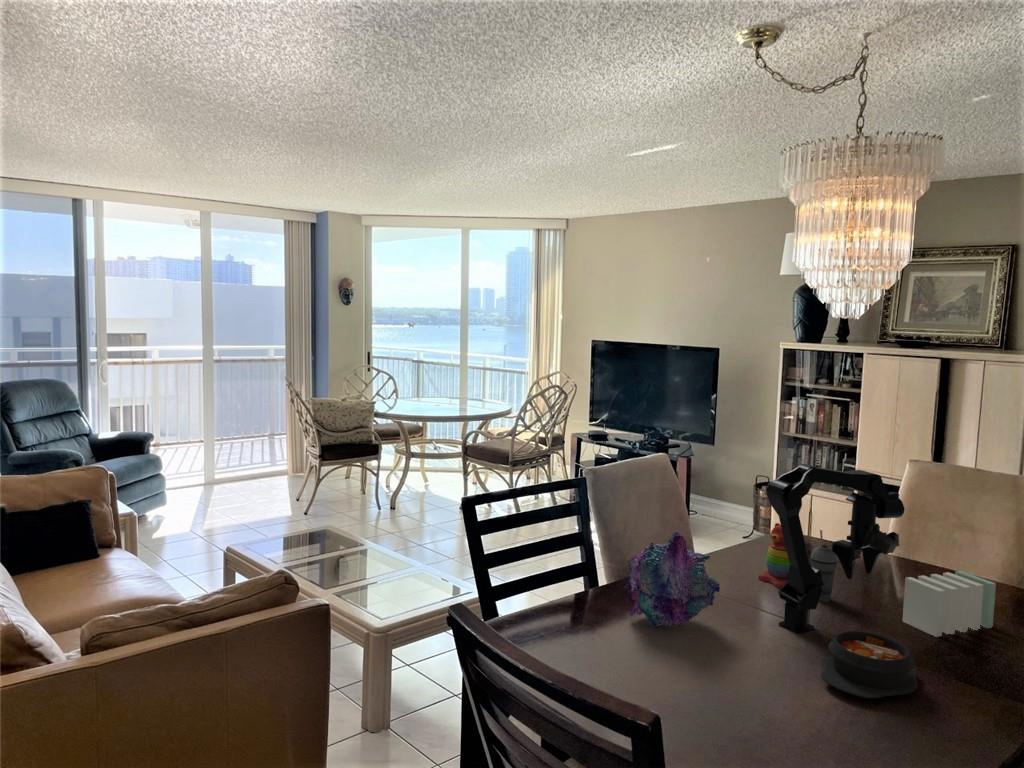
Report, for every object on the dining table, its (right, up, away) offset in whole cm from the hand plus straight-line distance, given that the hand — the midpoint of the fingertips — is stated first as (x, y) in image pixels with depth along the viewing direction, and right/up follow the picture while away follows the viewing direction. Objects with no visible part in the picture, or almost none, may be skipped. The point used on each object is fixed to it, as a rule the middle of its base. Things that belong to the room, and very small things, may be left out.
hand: (859, 576), depth 187 cm
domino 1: (+15, -13, -3) cm, 20 cm away
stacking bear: (-10, -10, +30) cm, 33 cm away
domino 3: (+23, -13, 0) cm, 27 cm away
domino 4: (+27, -13, +1) cm, 30 cm away
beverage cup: (-3, -11, +16) cm, 20 cm away
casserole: (-14, -15, -32) cm, 38 cm away
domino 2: (+19, -13, -2) cm, 23 cm away
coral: (-51, -12, -3) cm, 53 cm away
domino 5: (+32, -13, +3) cm, 34 cm away
